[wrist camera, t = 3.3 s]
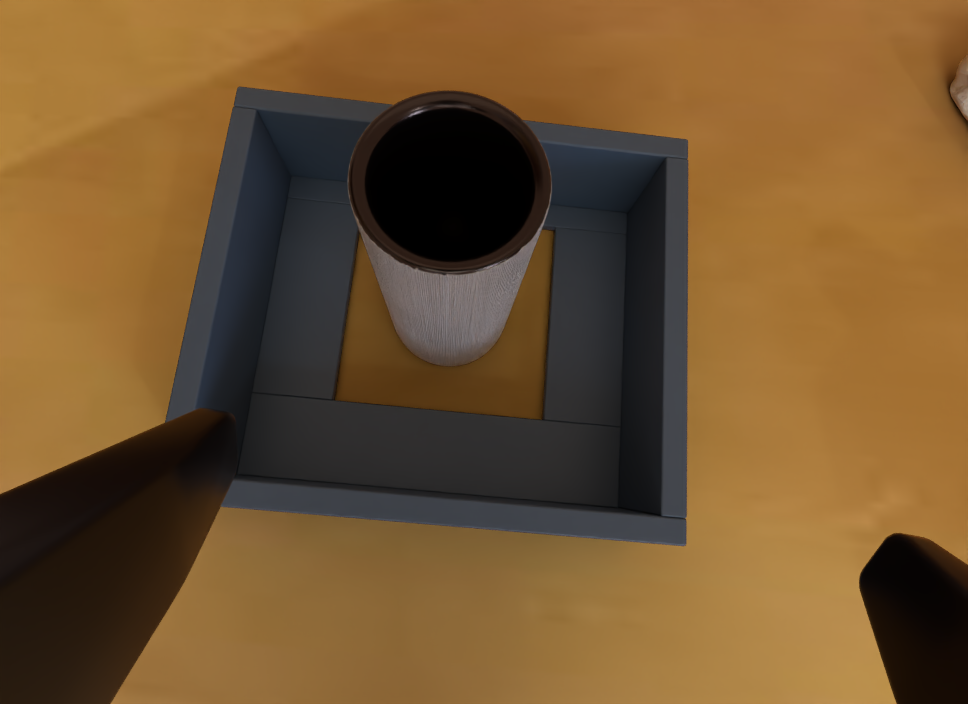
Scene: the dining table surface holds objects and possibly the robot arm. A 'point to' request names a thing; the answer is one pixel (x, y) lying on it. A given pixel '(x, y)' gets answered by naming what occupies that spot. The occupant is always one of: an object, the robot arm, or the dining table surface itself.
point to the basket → (435, 433)
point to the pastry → (961, 87)
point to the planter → (449, 217)
